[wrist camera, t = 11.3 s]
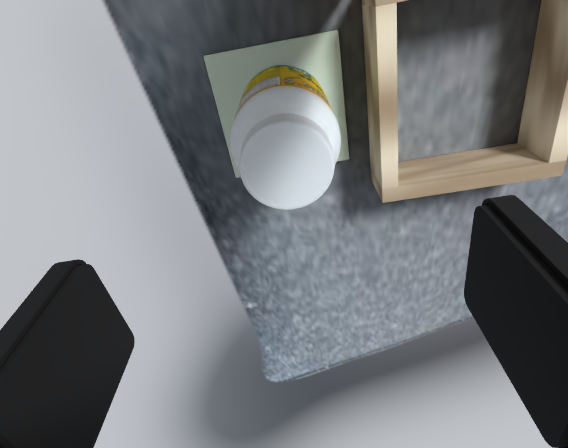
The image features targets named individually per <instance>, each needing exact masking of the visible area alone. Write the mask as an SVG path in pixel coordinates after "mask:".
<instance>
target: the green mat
mask: <svg viewBox="0 0 568 448" xmlns="http://www.w3.org/2000/svg"><path fill="white" fill-rule="evenodd" d="M203 57H204V61H205V64H206V68H207V72H208V76H209V79H210V83H211V87H212V91H213V94H214V98H215V102H216V106H217V109H218V113H219V117H220V120H221V124H222V128H223V132H224V135H225V139H226V143H227V147H228V150H229V154H230V158H231V162H232V165H233V169H234V173H235V176H236V178H239V177H241V175H240V171H239V170H238V168H237V166H236V164H235V162H234V160H233V157H232V153H231V148H230V134H231V128H232V124H233V121H234V118H235V115H236V112H237V109H238V106H239V103H240V100H241V97H242V94H243V92H244V90H245V88H246V86H247V84H248V83H249V81H250V80H251V79H252V78H253V77H254V76H255V75H256V74H257V73H258V72H260V71H261V70H263V69H265V68H267V67H269V66H272V65H277V64H289V65H293V66H296V67H299V68H301V69H303V70H305V71H307V72H309V73H310V74H311V75H312V76H313V77H314V78H315V79H316V80H317V81H318V82H319V84H320V85H321V87H322V89H323V91H324V93H325V95H326V97H327V100H328V102H329V104H330V106H331V108H332V110H333V112H334V114H335V116H336V118H337V122H338V125H339V129H340V135H341V146H340V153H339V156H338V159H337V161H343V160H349V152H348V140H347V128H346V116H345V105H344V93H343V81H342V69H341V57H340V46H339V34H338V30H333V31H328V32H323V33H318V34H313V35H308V36H302V37H297V38H292V39H287V40H282V41H277V42H272V43H267V44H261V45H256V46H251V47H246V48H241V49H236V50H231V51H226V52H220V53H215V54H210V55H205V56H203Z"/></svg>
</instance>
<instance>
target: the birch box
mask: <svg viewBox="0 0 568 448" xmlns="http://www.w3.org/2000/svg"><path fill="white" fill-rule="evenodd" d="M402 1H407V0H362V13H363V32H364V51H365V70H366V89H367V109H368V128H369V147H370V166H371V180H372V182H373V184H374V186H375V188H376V190H377V192H378V194H379V196H380V198H381V201H382V203H385V202H392V201H398V200H405V199H411V198H418V197H424V196H431V195H437V194H444V193H450V192H457V191H463V190H470V189H476V188H483V187H489V186H496V185H502V184H509V183H516V182H522V181H529V180H535V179H542V178H548V177H555V176H561V175H563V171H564V167H565V163H566V159H567V155H568V0H542V1H541V7H540V13H539V18H538V24H537V30H536V36H535V42H534V48H533V54H532V59H531V65H530V71H529V77H528V83H527V89H526V95H525V100H524V106H523V112H522V118H521V124H520V130H519V136H518V142H517V143H514V144H508V145H502V146H496V147H490V148H483V149H477V150H471V151H465V152H459V153H453V154H447V155H440V156H434V157H428V158H422V159H416V160H410V161H403V162H398V103H397V2H402Z"/></svg>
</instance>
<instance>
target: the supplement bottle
mask: <svg viewBox="0 0 568 448" xmlns="http://www.w3.org/2000/svg"><path fill="white" fill-rule="evenodd" d="M340 146H341V135H340V129H339V125H338V122H337V118H336V116H335V114H334V112H333V110H332V108H331V106H330V104H329V102H328V100H327V97H326V95H325V93H324V91H323V89H322V87H321V85H320V84H319V82H318V81H317V80H316V79H315V78H314V77H313V76H312V75H311V74H310V73H309V72H307V71H305V70H303V69H301V68H299V67H296V66H293V65H289V64H277V65H272V66H269V67H267V68H265V69H263V70H261V71H260V72H258V73H257V74H256V75H255V76H254V77H253V78H252V79H251V80H250V81H249V83H248V84H247V86H246V88H245V90H244V92H243V94H242V97H241V100H240V103H239V106H238V109H237V112H236V115H235V118H234V121H233V124H232V128H231V134H230V148H231V153H232V157H233V160H234V162H235V164H236V166H237V168H238V170H239V171H240V175H241V179H242V181H243V184H244V186H245V187H246V189H247V190H248V192H249V193H250V194H251V195H252V196H253V197H254V198H255V199H256V200H258V201H259V202H261V203H262V204H264V205H266V206H269V207H272V208H276V209H283V210H290V209H298V208H301V207H304V206H307V205H309V204H311V203H313V202H314V201H316V200H317V199H318V198H320V197H321V195H322V194H323V193H324V192H325V191H326V190H327V188H328V187H329V185H330V183H331V181H332V178H333V174H334V168H335V164H336V162H337V159H338V156H339V153H340Z"/></svg>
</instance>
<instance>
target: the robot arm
mask: <svg viewBox="0 0 568 448" xmlns="http://www.w3.org/2000/svg"><path fill="white" fill-rule="evenodd" d="M464 297H465V301H466V304H467V306H468V308H469V310H470V312H471V313H472V315H473V317H474V319H475V320H476V322H477V324H478V325H479V327H480V329H481V330H482V332H483V334H484V336H485V338H486V339H487V341H488V343H489V345H490V346H491V348H492V350H493V351H494V353H495V355H496V357H497V358H498V360H499V362H500V363H501V365H502V367H503V369H504V371H505V372H506V374H507V376H508V377H509V379H510V381H511V383H512V384H513V386H514V388H515V390H516V391H517V393H518V395H519V396H520V398H521V400H522V401H523V403H524V405H525V407H526V409H527V410H528V412H529V414H530V415H531V417H532V419H533V421H534V422H535V424H536V426H537V428H538V429H539V431H540V433H541V434H542V436H543V438H544V439H545V441H546V442H547V443H548V444H549V445H550V446H551V447H555V448H557V447H558V448H568V243H567V242H566V241H565V240H564V239H563V238H562V237H561V236H560V235H558V234H557V233H556V232H555V231H554V230H553V229H552V228H551V227H550V226H549V225H547V224H546V223H545V222H544V221H543V220H542V219H541V218H540V217H539V216H537V215H536V214H535V213H534V212H533V211H532V210H531V209H530V208H529V207H528V206H526V205H525V204H524V203H523V202H522V201H521V200H520V199H519V198H518V197H516V196H514V195H508V196H502V197H495V198H488V199H485V200H484V201H483V203H482V206H478V207H476V209H475V212H474V218H473V226H472V234H471V242H470V249H469V257H468V265H467V272H466V280H465V288H464ZM133 348H134V336H133V333H132V332H131V330H130V328H129V327H128V325H127V323H126V322H125V320H124V318H123V316H122V315H121V313H120V312H119V310H118V308H117V306H116V305H115V303H114V301H113V300H112V298H111V297H110V295H109V293H108V291H107V290H106V288H105V287H104V285H103V283H102V281H101V280H100V278H99V276H98V275H97V273H96V271H95V270H94V268H93V267H92V266H91V265H89V264H86V263H85V262H84V261H83V260H72V261H66V262H59V263H56V264H54V265H53V266H52V267H51V268H50V269H49V271H48V272H47V273H46V274H45V275H44V277H43V278H42V279H41V280H40V282H39V283H38V284H37V286H36V287H35V288H34V289H33V291H32V292H31V293H30V294H29V295H28V297H27V298H26V299H25V300H24V302H23V303H22V304H21V305H20V307H19V308H18V309H17V310H16V312H15V313H14V314H13V315H12V316H11V318H10V319H9V320H8V321H7V323H6V324H5V325H4V326H3V328H2V329H1V330H0V448H93V447H94V445H95V442H96V440H97V437H98V435H99V432H100V430H101V427H102V425H103V422H104V420H105V417H106V415H107V412H108V410H109V408H110V405H111V402H112V400H113V398H114V395H115V393H116V390H117V388H118V385H119V383H120V380H121V378H122V375H123V373H124V370H125V368H126V365H127V363H128V360H129V358H130V355H131V353H132V350H133Z"/></svg>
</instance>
